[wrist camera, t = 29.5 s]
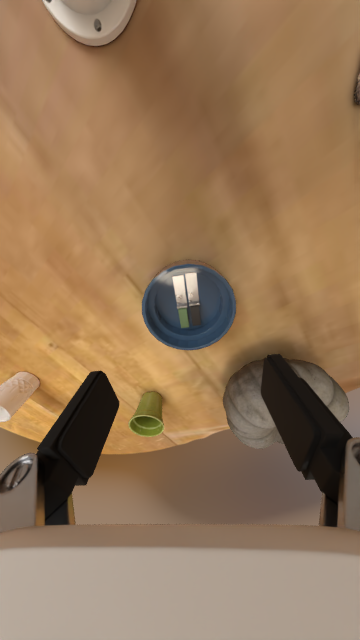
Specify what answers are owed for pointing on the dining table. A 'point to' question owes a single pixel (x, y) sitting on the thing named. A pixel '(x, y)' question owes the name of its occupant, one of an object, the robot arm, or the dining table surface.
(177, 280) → the green knife
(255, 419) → the gourd
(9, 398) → the white cup
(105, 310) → the dining table surface
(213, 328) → the bowl
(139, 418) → the plant pot
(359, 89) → the grey tall irregular piece
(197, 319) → the black knife
